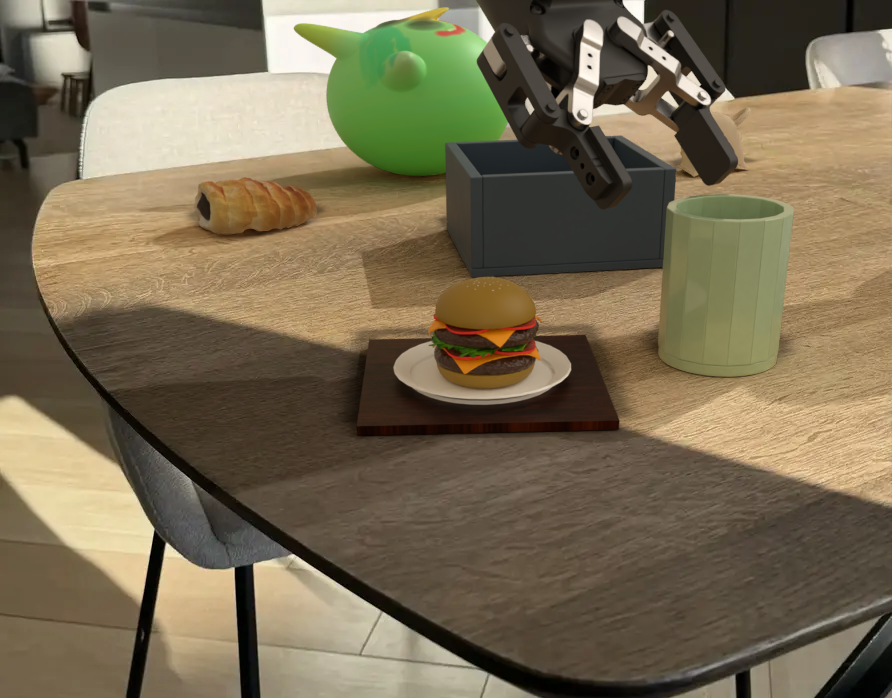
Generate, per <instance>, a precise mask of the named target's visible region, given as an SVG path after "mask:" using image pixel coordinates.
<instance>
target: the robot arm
mask: <svg viewBox="0 0 892 698" xmlns="http://www.w3.org/2000/svg"><path fill="white" fill-rule="evenodd" d="M475 1H476V3H477V4H478V6H479V8H480V10H481V12H482V13H483V15H484V16H485V18H486V20H487V21H488V23H489V25H490V27H491V28H492V29H493V31H494V32H493V34H492V36H491V37H490V39H489V40H488V41H487V45H486V46H485V48H484V49H483V51H482V52H481V54H480V55H479V57H478V58H477V65H478V67H479V69H480V71H481V72H482V74H483V76H484V78H485V80H486V82H487V84H488V86H489V87H490V89H491V91H492V93H493V95H494V97H495V99H496V101H497V102H498V104H499V106H500V108H501V110H502V112H503V114H504V116H505V117H506V119H507V121H508V123H507V124H508V125H509V126H510V128H511V131H512V132H513V134H514V136H515V138H516V140H518V142H519V143H520V144H521V145H522V146H524V147H525V148H528V149H533V148H535V147H536V146H537V144H538V143H539V144H544V145H549V147H550V148H551V150H552V151H554V152H555V153H557V154H560V155H563V156H564V157H565V159H566V161H567V162H568V164H569V166H570V167H571V169H572V171H573V172H574V174H575V176H577V179H578V181H579V182H580V183H581V186H582V187H583V189H584V191H585V192H586V194H587V195H588V196H589V197H590V198H591V199H592V200H593V201H595V203H596V204H597V206H598V207H599V208H600V209H608V208H612V207H615V206H616V205H617V204H618V203H619V202H620V201H621V200H622V199H623V198H624V197H625V196H626V195H627V194H628V193H629V192H630V190H631V189H632V179H631V177H630V175H629V174H628V172H627V170H626V169H625V167H624V166H623V164H622V162H621V161H620V159H619V157H618V156H617V154H616V153H615V151H614V149H613V148H612V146H611V144H610V143H609V141H608V139H607V138H606V136H607V135H606V134H605V133H604V131H603V130H602V128H601V126H600V125H594V126H590V125H591V124H592V123H593V121H594V110H597V109H598V108H600V107H601V106H603V105H609V106H625V107H626V108H628V109H629V110H630V111H632V112H633V113H635V114H636V115H638V116H641V117H644V116H648V115H650V116H652V117H654V118H655V119H657V120H658V121H659V122H661V123H662V124H663V125H664V126H667V127H668V128H669V129H671V130H672V131H673V132H675V134H674V135H673V137H674V138H675V140H676V142H677V143H678V145H679V146H680V148H681V147H682V149H683V151H684V152H685V154H686V155H687V157H688V159H689V160H690V162H691V163H692V165H693V167H694V168H695V170H696V171H697V173H698V175H697V176H699V178H700V179H701V181H702V183H703V184H704V185H705V186H709V187H710V186H715V185H719V184H721V183H723V181H725V179H727V177H728V176H730V175H731V174H732V173H733V171H735V170H736V169H737V168H736V167H737V165H738V158H737V156H736V154H735V151H734V149H733V147H732V146H731V144H730V143H729V142H728V140H727V138H726V136H724V133H723V132H722V130H721V129H720V127H719V126H718V124H717V122H716V121H715V119H714V118H713V116H712V114H711V112H712V111H711V106H712V105H713V104H714V103H715V102H716V101H717V100H718V99H719V98H720V97H721V96H722V95H723V94H724V93H725V92H726V88H727V87H726V85H725V83H724V82H723V80H722V79H721V77H720V76H719V74H718V73H717V72H716V70H715V69H714V67H713V66H712V65H711V63H710V62H709V60H708V59H707V57H706V56H705V54H704V53H703V52H702V51H701V49H700V48H699V46H698V45H697V42H695V40H694V39H693V37H692V36H691V34H690V33H689V32H688V30H687V29H686V27H685V25H683V23H682V22H681V20H680V19H679V17H678V15H676V14H675V13H674V12H673V11H671V10H669V9H663V10H662V11H661V12H660V14H659V15H658V16H657V18H655V19H654V20H653V21H651V22H645V23H642V22H641V20H639V19H638V18H637V17H636V16H635V15H633V13H632V12H631V11H629V10H628V8H627V7H626V6H625V5H624V0H475ZM649 67H651V68H652V70H653V71H654V72H655V74H656V75H657V76H656V77H655V78H654V79H653V80H652V82H650V84H649V85H648V87H646V88H645V89H640V88H641V87H642V86H643V85H644V84H645V82H646V81H647V79H648V76H649V75H648V74H649ZM690 73H692V74H693V76H694V77H695V78H696V80H697V81H698V83H699V84H697V83H696V82H694V81H693V80H691V79H690V78H688V76H689V75H690ZM667 92H668V93H669V95H670V96H671V97H672V98H673V100H674V102H675V103H676V105H677V106H678V107H675V106H674V105H672V104H671V103H669V102H668V101H667V100H666V99H664V98H663V96H664V95H665V94H666V93H667ZM527 99H528V101H529V103H530V105H531V107H532V109H533V111H531V113H530V112H529V110H528V108H527V106H526V101H527Z"/></svg>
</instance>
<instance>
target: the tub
mask: <svg viewBox="0 0 892 698" xmlns="http://www.w3.org/2000/svg"><path fill="white" fill-rule="evenodd" d="M794 209H795V208H794V206H792V205H791V204H788V203H786V202H785V201H782V200H777V199H774V198H769V197H765V196H759V195H758V196H757V195H749V194H736V193H735V194H733V193H711V194H710V193H709V194H696V195H688V196H683V197H679V198H677V199H674V201H671V202H669V204H668V206H667V211H666V226H665V242H664V257H663V267H662V274H661V290H660V304H659V305H660V307H659V321H658V322H659V323H658V335H657V336H658V338H657V345H658V348H657V354H658V357H659V359H660V360H661V361H662V362H663V363H664V364H666V365H667V366H670V367H672V368H674V369H676V370H679V371H683V372H686V373H689V374H694V375H701V376H709V377H718V378H719V377H720V378H721V377H723V378H726V377H727V378H732V377H745V376H746V377H747V376H751V375H752V376H753V375H756V374H760V373H765V372H766V371H768V370H771V369H772V368H773V367H774V366H775V365H776V363H777V361H778V354H779V347H780V341H781V340H780V338H781V331H782V321H783V313H784V304H785V294H786V286H787V278H788V277H787V276H788V268H789V259H790V251H791V249H790V248H791V241H792V234H793V233H792V232H793V225H794V224H793V223H794V215H795V210H794Z"/></svg>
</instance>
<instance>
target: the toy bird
mask: <svg viewBox="0 0 892 698" xmlns="http://www.w3.org/2000/svg"><path fill="white" fill-rule="evenodd" d="M448 10H450V8H449V7H448V6H447V7H446V6H445V7H438V8H433V9H430V10H426V11H423V12H420V13H416V14H414V15H411V16H407V17H405V18H400V19H391V20H388V21H384V22H381V23H379V24H377V25H376V26H374V27H372V28H369V29H368V30H366V31H364V32H360V31H353V30H348V29H342V28H338V27H332V26H327V25H322V24H315V23H307V22H304V23H303V22H302V23H301V22H300V23H297V24H295V25H294V26H293V30H294V32H295V33H296V34H297V35H298V36H299V37H301V38H303V39H304V40H305V41H307V42H309V43H310V44H313V45H314V46H316V47H317V48H319V49H320V50H322V51H323V52H325V53H328V54H329V55H331V56H332V57H333V58H334V59H335V60H334V62H333V64H332V66H331V69H330V72H329V75H328V79H327V83H326V91H325V93H326V95H325V99H326V108H327V113H328V116H329V119H330V121H331V124H332V126H333V128H334V130H335V132H336V134H337V136H338V137H339V138H340V140H341V141H342V143H343V144H344V145H345V146H346V147H347V148H348V149H349V150H350V151H351V152H352V153H353V154H354V155H356V156H357V157H358V158H359V159H361V160H362V161H364V162H365V163H367V164H369V165H371V166H373V167H375V168H378V169H379V170H382V171H384V172H387V173H390V174H391V173H392V174H396V175H400V176H408V177H409V176H411V177H428V176H429V177H430V176H438V175H444V174H446V163H445V143H446V142H455V143H456V142H470V141H495V140H501V137H502V136H503V134H504V133H505V130H506V128H507V125H508V124H509V123H508V121H507V119H506V117H505V116H504V114H503V112H502V110H501V108H500V106H499V104H498V102H497V101H496V99H495V97H494V95H493V93H492V91H491V89H490V87H489V86H488V84H487V82H486V80H485V78H484V76H483V74H482V72H481V71H480V69H479V67H478V65H477V58H478V57H479V55H480V54H481V52H482V51H483V49H484V48H485V46H486V45H487V43H488V41H486V40H485V39H483V38H482V37H481V36H480V35H478V34H477V33H475V32H473V31H472V30H470V29H468V28H466V27H464V26H461V25H458V24H456V23H453V22H449V21H445V20H440V19H439V18H440V17H441V16H442V15H444V14H445V13H447V12H448Z"/></svg>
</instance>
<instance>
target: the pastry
mask: <svg viewBox="0 0 892 698" xmlns="http://www.w3.org/2000/svg"><path fill="white" fill-rule="evenodd" d="M194 201H195V202H194V214H195V216H196V218H197V220H198V225H199V227H201V228H202V229H203V230H207V231H208V230H209V231H210V232H212V233H214V234H216V235H217V234H218V235H220V234H222V235H226V236H231V235H234V234H243V233H244V231H246V230H249V229H252V230H255V231H256V232H268V231H269V232H270V231H271V230H273V229H278V230H280V231H282V229H284V228H287V229H290V228H292V227H299V226H300V225H301V224H304V223H306V222H307V221H308V220H311V219H312V220H313V219H315V217H316V216H317V214H318V210H317V203H316V201H315V199H314V198H313V196H312V195H311V193H310V192H308V191H306V190H305V189H303V188H301V187H299V186H296V185H287V186H281V185H280V184H279V183H277V182H276V181H270V180H255V179H253V178H250V177H244V176H243V177H241V178H239V179H226V180H219V181H216V182H214V181H213V180H212V181H211V180H210V181H209V180H207V181H203V182H201V183H199V184H198V187H197V195H196V196H195V200H194Z"/></svg>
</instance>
